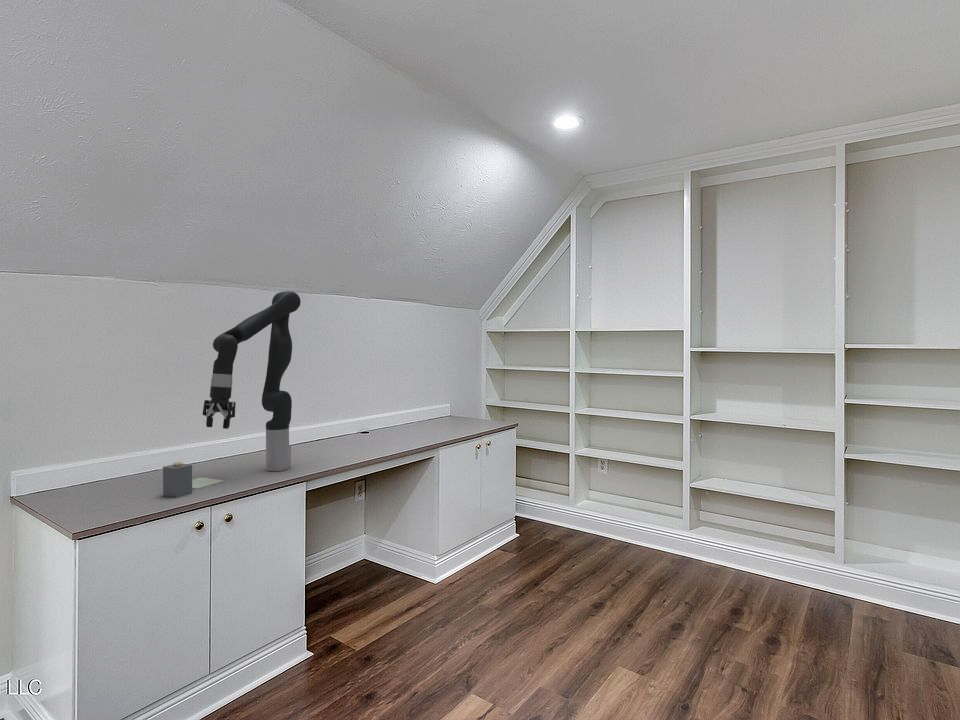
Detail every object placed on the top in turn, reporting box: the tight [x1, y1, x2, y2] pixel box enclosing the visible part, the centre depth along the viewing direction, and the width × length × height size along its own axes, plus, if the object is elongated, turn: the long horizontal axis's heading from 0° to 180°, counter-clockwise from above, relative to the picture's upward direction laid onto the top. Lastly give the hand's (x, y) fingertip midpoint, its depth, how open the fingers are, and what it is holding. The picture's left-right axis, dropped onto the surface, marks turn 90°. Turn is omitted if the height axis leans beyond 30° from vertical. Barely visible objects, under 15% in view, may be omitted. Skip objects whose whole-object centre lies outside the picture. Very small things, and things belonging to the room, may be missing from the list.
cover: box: [162, 461, 193, 498], centre depth 194 cm, size 6×6×11 cm
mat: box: [192, 477, 225, 490], centre depth 208 cm, size 12×12×1 cm
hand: (217, 427), depth 214 cm, fingers open, 8 cm apart
